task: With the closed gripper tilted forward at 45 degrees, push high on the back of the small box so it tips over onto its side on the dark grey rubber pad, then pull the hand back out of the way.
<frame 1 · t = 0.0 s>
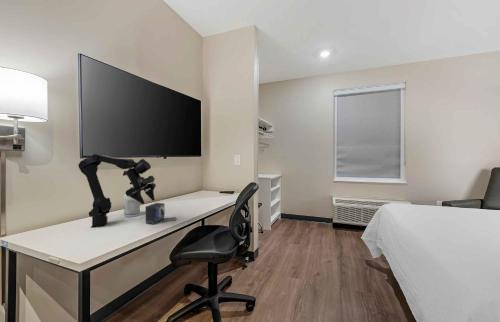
hand: (149, 202, 115), 15 cm above the table, tool tilted 35°, fingers open, 9 cm apart
small box: (155, 221, 127), on the table, touching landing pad
supplement tub: (132, 215, 140), on the table
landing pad: (169, 219, 132), on the table
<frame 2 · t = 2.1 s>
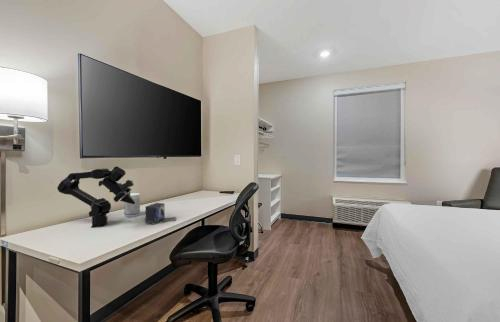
hand: (134, 203, 123), 12 cm above the table, tool tilted 45°, fingers closed
nothing on the table moved.
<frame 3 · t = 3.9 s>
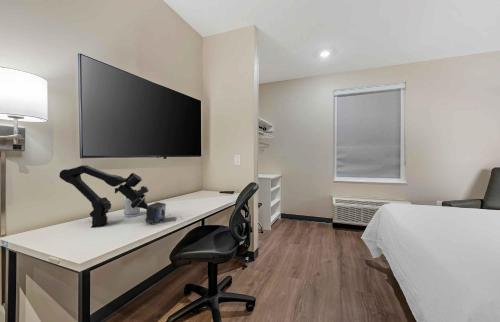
hand: (149, 209, 126), 8 cm above the table, tool tilted 45°, fingers closed
small box: (155, 221, 127), on the table, touching gripper, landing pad
everything else where it was.
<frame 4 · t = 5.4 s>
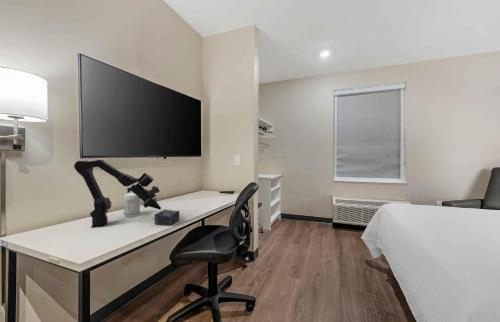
hand: (160, 208, 128), 8 cm above the table, tool tilted 45°, fingers closed
small box: (159, 216, 127), point 3 cm above the table, touching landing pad
everything else where it was.
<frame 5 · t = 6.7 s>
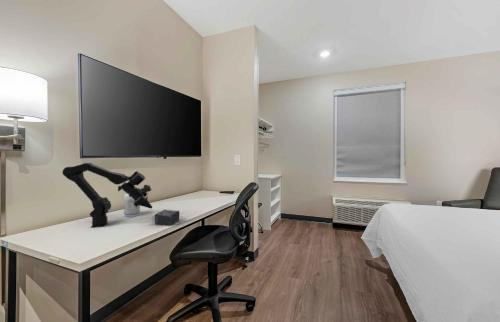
hand: (151, 207, 127), 9 cm above the table, tool tilted 45°, fingers closed
nothing on the table moved.
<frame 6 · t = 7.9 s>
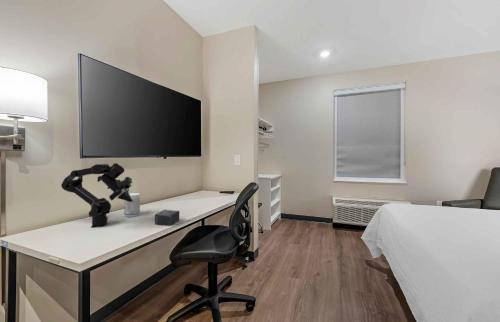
hand: (131, 201, 122), 14 cm above the table, tool tilted 40°, fingers closed
nothing on the table moved.
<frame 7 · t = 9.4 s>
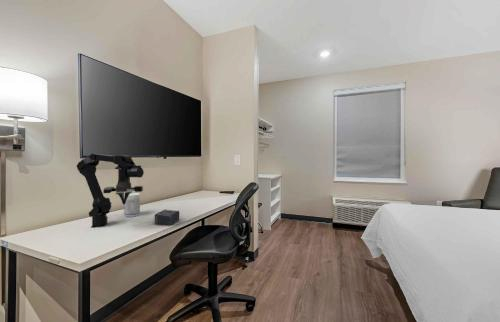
hand: (124, 204, 117), 13 cm above the table, tool pointing down, fingers closed
nothing on the table moved.
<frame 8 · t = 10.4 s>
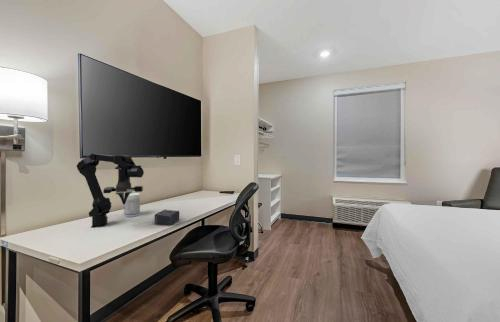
hand: (124, 204, 117), 13 cm above the table, tool pointing down, fingers closed
nothing on the table moved.
at the end: small box tilted 90°; small box inside the target area (5.0 cm from its centre), point 3.3 cm above the table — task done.
